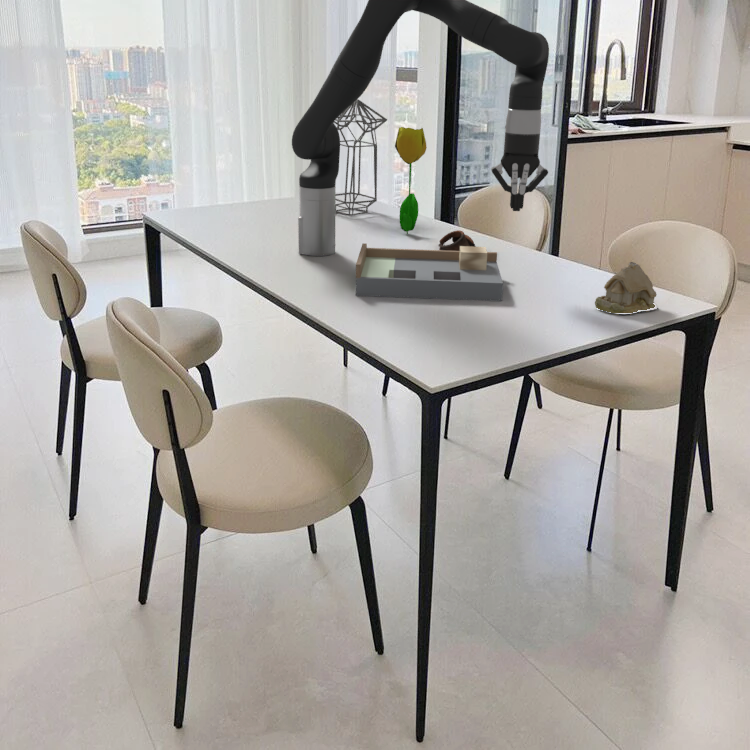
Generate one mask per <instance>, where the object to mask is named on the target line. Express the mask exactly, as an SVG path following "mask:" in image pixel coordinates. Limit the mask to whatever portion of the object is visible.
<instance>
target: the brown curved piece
mask: <svg viewBox="0 0 750 750" xmlns="http://www.w3.org/2000/svg"><path fill="white" fill-rule="evenodd" d="M450 240H451V241H452V243H449V244H446V245H444V244H445V243H446V242H448V241H450ZM460 246H472V247H477V245H476V244H475V243H474V240H473V238H471V236H469V235H467V234H465V232H464V231H463V230H459V229H458V230H454V231H451V232H448V233H447V234H445V235H444V236H442V237H441V238H440V240H439V244H438V247H439V250H446V251H460Z"/></svg>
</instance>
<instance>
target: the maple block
mask: <svg viewBox="0 0 750 750" xmlns="http://www.w3.org/2000/svg"><path fill="white" fill-rule="evenodd" d="M487 252H488V251H487V247H486V246H476V247H472V246H460V253H459V267H460V269H464V270H486V266H487Z"/></svg>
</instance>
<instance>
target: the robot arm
mask: <svg viewBox="0 0 750 750" xmlns="http://www.w3.org/2000/svg"><path fill="white" fill-rule="evenodd" d="M411 11H414V12H418V13H421V14H425V15H428V16H430V17H433V18H435V19H437V20H439V21H441V23H444V24H445V25H446V26H447V27H448V28H450V29H451V30H452V31H453V32H455V34H457V35H459V36H460V37H461V38H463V39H465V40H467V41H468V42H470V43H473V44H475V45H476V46H478V47H481V48H483V49H485V50H488V51H491V52H493V53H495V54H496V55H497V56H498V57H501V58H503V59H504V60H506V61H507V62H508V63H510V64H512V65H515V70H514V71H515V73H514V79H513V81H512V83H511V84H510V86H509V93H508V94H509V96H508V104H507V105H508V108H507V114H506V118H505V119H506V120H505V126H504V129H505V131H504V133H505V134H504V144H503V145H504V146H503V155H502V157H501V159H500V162H499V163H498V164H497V165H496V166H492V167H491V169H490V170H491V173H492V174H493V176H494V177H495V179H496V181H497V182H498V184H499V185H500V186H501V187H502V189H503V190H504V192H507V193H509V194H510V198H509V207H510V209H512V212H521V209H522V210H523V208H524V200H525V195H526V194H527V193H532V192H533V191H534V190H535V189H536V188H537V187H538V185H540V183H542V181H543V180H544V179H545V177H547V175H548V174H549V171H548V169H547V168H545V167H544V166H542V164H541V161H540V158H539V149H540V139H541V127H542V104H543V86H544V83H545V77H546V75H547V69H548V63H549V59H550V58H549V57H550V46H549V45H550V44H549V43H548V40H547V38H546V37H545V35H543V34H541V33H540V32H537V31H536V32H535V31H530V30H526V29H525V28H522V27H519V26H518V25H515V24H513V23H510V22H509V21H508V20H507V19H506V18H504V17H502V16H500V15H498V14H497V13H494V12H492V11H489V10H488V9H486V8H483V7H481V6H479V5H477V4H475V3H472V2H471V1H468V0H367V3H366V5H365V7H364V10H363V13H362V14H361V17H360V18H359V21H358V22H357V24H356V25H355V27H354V29H353V30H352V32H351V34H350V36H349V37H348V38H347V41H346V43H345V45H344V46H343V48H342V49H341V51H340V53H339V55H338V56H337V58H336V60H335V61H334V64H333V65H332V68H331V69H330V71H329V73H328V75H327V77H326V79H325V81H324V82H323V84H322V86H321V88H320V89H319V91H318V93H317V95H316V96H315V98H314V100H313V102H312V103H311V104H310V105H309V107H308V109H307V110H306V111H305V113H304V114H303V115H302V117H301V118H300V120H299V121H298V122H297V124H296V126H295V128H294V130H293V132H292V135H291V148H292V151H293V153H294V154H295V156H296V157H298V158H300V159H301V160H310V163H309V165H308V167H307V168H305V170H304V171H302V173H300V175H299V179H298V182H299V183H298V185H299V186H298V187H299V190H298V192H299V197H298V198H299V217H298V218H297V219H298V221H297V223H298V224H297V225H298V229H297V230H298V231H297V232H298V254H299V255H305V256H312V257H323V256H324V257H325V256H331V255H333V254H334V255H335V253H336V212H335V204H336V200H335V198H336V196H335V195H336V194H337V193H336V184H337V183H336V182H337V178H338V175H339V172H340V153H341V145H340V144H341V142H340V141H341V138H340V133H339V132H340V131H339V130H338V129H337V125H336V124H335V123H333V122H334V120H335V119H336V118H337V117H338V116H339V115H340V114H341V113H342V112H343V111H344V110H346V109H347V108H348V107H349V106H350V105H351V104H353V103H354V102H355V101H356V100H357V99H358V100H359V99H360V97H361V96H362V95H363V94H364V92H365V91H366V90H367V88H368V87H369V85H370V83H371V81H372V80H373V78H374V76H375V75H376V73H377V71H378V69H379V65H380V63H381V58H382V55H383V50H384V45H385V44H386V40H387V39H388V36H389V35H390V34H391V31H392V30H393V28H394V27H395V25H396V23H398V21H399V19H401V17H402V16H403V15H404V14H405V13H408V12H411ZM337 119H338V118H337ZM335 121H336V120H335ZM503 169H504V171H505V173H506V174H507V175H508V177H510V185H509V184H508V183H507V181H506V180H505V179H504V177H503V176H502V175H503V173H504V171H503ZM534 172H535V174H536V175H535V176H534V178H533V179H532V180H531V181H530V182H529V183H528V179H529V178H530V177H531V176H532V175H533V174H534ZM518 180H519V184H518ZM527 183H528V184H527Z"/></svg>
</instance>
